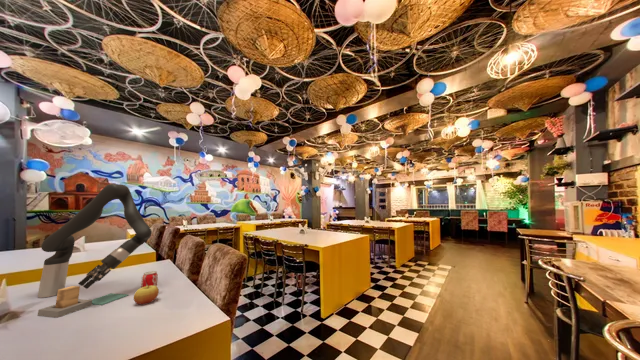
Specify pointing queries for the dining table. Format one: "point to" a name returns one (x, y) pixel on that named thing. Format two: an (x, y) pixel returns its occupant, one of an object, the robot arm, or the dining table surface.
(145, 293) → the apple
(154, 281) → the soda can
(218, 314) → the dining table surface
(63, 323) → the dining table surface
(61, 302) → the oak block
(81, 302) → the frame
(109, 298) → the teal mat
